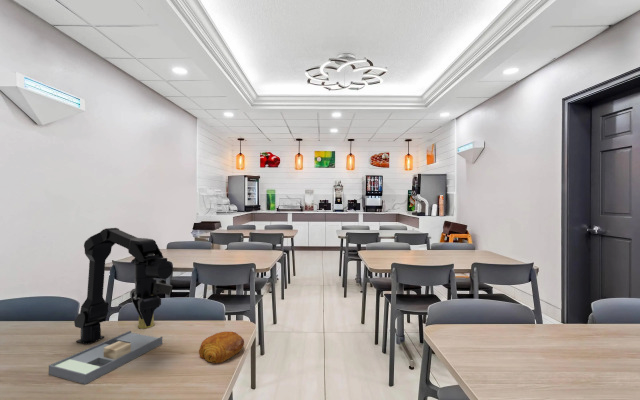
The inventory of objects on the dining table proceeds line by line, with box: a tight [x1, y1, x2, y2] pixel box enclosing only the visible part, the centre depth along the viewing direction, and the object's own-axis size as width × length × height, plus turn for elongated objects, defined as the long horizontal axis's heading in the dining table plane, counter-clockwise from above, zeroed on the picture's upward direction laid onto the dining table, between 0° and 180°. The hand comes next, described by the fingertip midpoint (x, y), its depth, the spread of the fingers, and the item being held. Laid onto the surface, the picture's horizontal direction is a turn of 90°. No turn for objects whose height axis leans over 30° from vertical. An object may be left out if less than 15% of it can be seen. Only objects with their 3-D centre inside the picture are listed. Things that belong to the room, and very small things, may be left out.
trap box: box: [48, 330, 163, 385], centre depth 111 cm, size 16×28×3 cm, turn 161°
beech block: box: [104, 341, 131, 359], centre depth 109 cm, size 6×6×3 cm
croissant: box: [198, 331, 245, 364], centre depth 115 cm, size 14×16×8 cm
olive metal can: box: [137, 313, 155, 330], centre depth 138 cm, size 6×6×14 cm
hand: (145, 322), depth 111 cm, fingers open, 9 cm apart
